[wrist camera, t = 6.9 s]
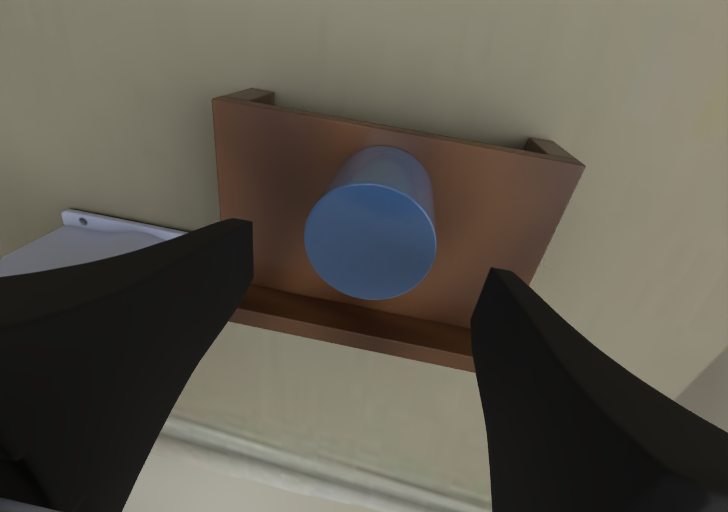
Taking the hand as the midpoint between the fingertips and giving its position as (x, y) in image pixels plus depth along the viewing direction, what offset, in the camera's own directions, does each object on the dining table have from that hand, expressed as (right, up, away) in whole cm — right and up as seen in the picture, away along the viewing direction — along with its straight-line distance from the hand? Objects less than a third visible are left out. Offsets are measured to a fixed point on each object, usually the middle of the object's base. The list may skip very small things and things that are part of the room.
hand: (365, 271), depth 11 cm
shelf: (+1, +3, +9) cm, 10 cm away
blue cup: (+1, +3, +5) cm, 6 cm away
